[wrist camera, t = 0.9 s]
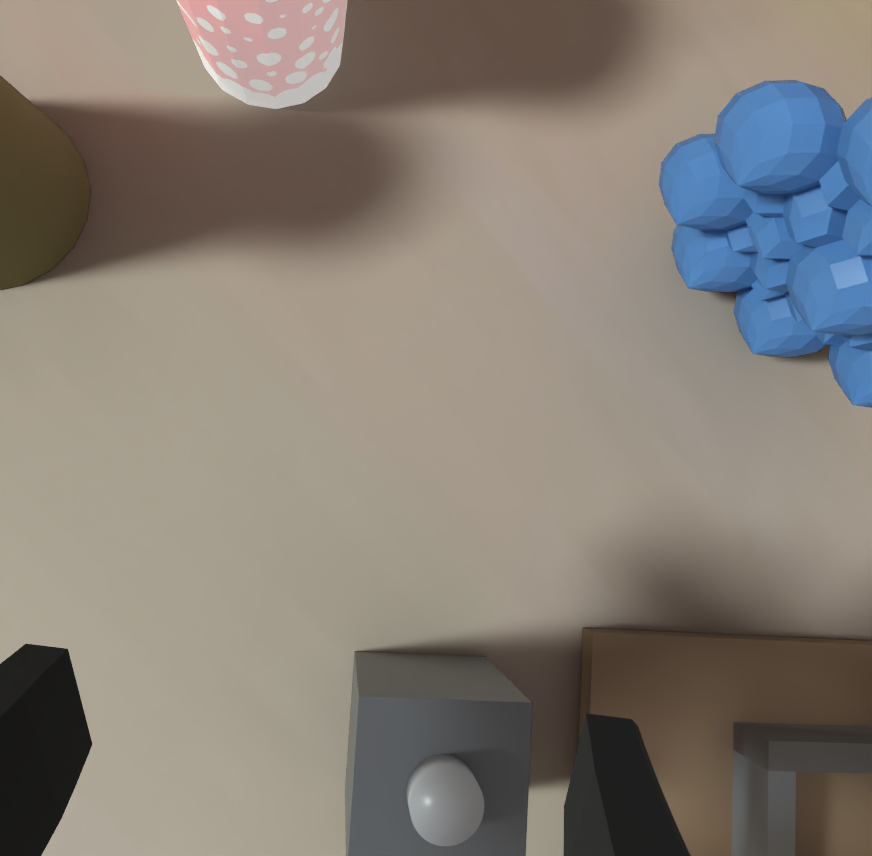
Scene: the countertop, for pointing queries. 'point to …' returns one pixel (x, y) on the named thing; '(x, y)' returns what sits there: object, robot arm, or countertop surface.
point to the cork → (36, 190)
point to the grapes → (783, 223)
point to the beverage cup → (268, 46)
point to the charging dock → (746, 734)
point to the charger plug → (436, 758)
